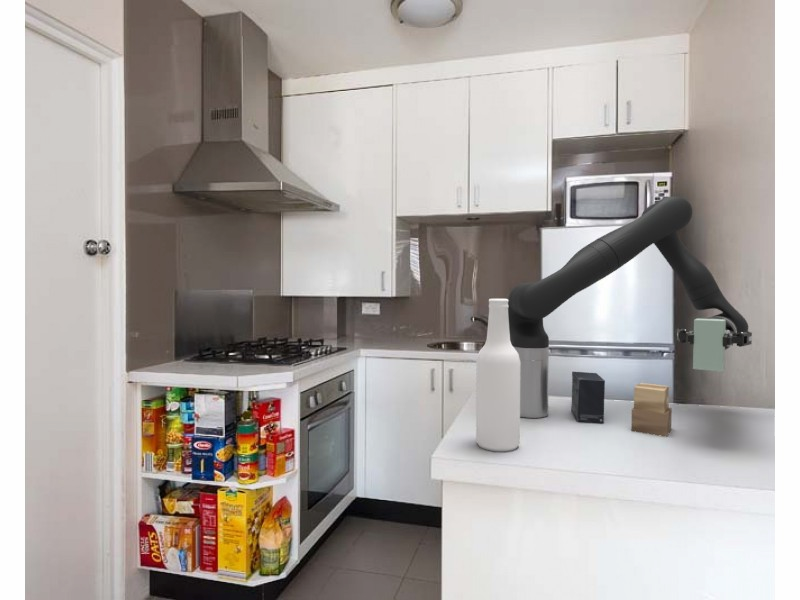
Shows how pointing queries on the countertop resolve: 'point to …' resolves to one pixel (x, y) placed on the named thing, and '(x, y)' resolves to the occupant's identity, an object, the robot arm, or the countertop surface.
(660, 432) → the walnut block
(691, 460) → the countertop surface
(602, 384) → the small box
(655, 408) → the oak block
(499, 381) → the alcohol
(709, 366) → the sage pillar
